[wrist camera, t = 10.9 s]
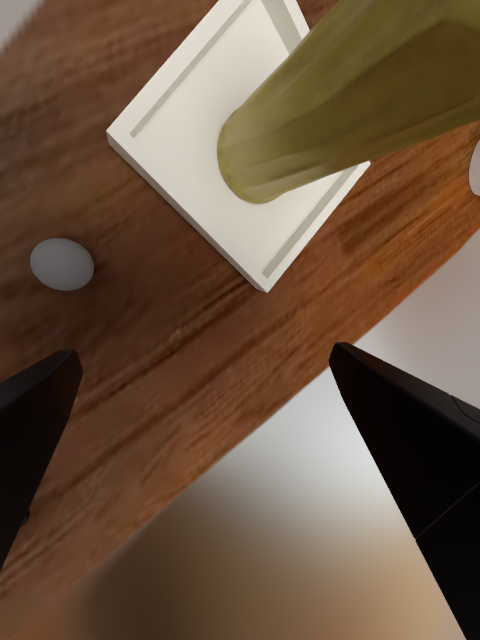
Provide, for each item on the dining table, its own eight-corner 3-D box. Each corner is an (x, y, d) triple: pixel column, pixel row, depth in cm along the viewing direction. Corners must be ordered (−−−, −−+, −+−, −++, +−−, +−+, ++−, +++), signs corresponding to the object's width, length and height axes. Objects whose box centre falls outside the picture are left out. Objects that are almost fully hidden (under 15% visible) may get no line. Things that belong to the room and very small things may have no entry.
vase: (231, 86, 16) (621, -522, 3) (301, 136, 19) (655, -87, 6) (206, 183, 17) (433, 4, 4) (276, 216, 20) (537, 167, 7)
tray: (256, 288, 21) (267, 292, 20) (108, 144, 14) (106, 130, 13) (351, 170, 22) (370, 163, 20) (253, -23, 15) (269, -58, 13)
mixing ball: (64, 294, 16) (51, 305, 13) (27, 252, 14) (4, 255, 12) (106, 272, 16) (102, 277, 14) (75, 229, 15) (63, 226, 12)
